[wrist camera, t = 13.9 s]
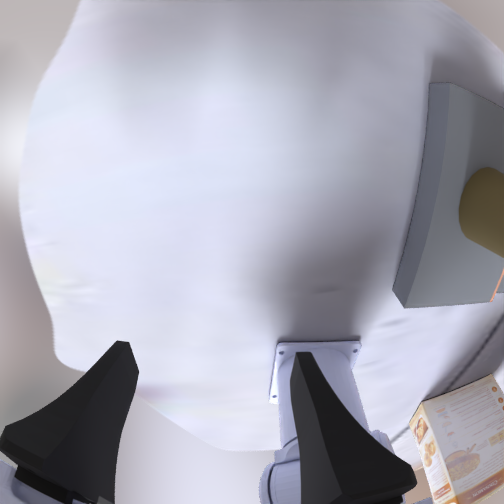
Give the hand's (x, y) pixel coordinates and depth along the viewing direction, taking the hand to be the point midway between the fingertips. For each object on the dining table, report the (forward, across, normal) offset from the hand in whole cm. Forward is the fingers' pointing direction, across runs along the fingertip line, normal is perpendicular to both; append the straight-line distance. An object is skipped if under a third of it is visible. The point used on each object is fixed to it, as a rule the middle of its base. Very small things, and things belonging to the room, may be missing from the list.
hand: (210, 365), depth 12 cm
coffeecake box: (+10, -34, +24) cm, 43 cm away
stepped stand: (+10, -22, -6) cm, 25 cm away
